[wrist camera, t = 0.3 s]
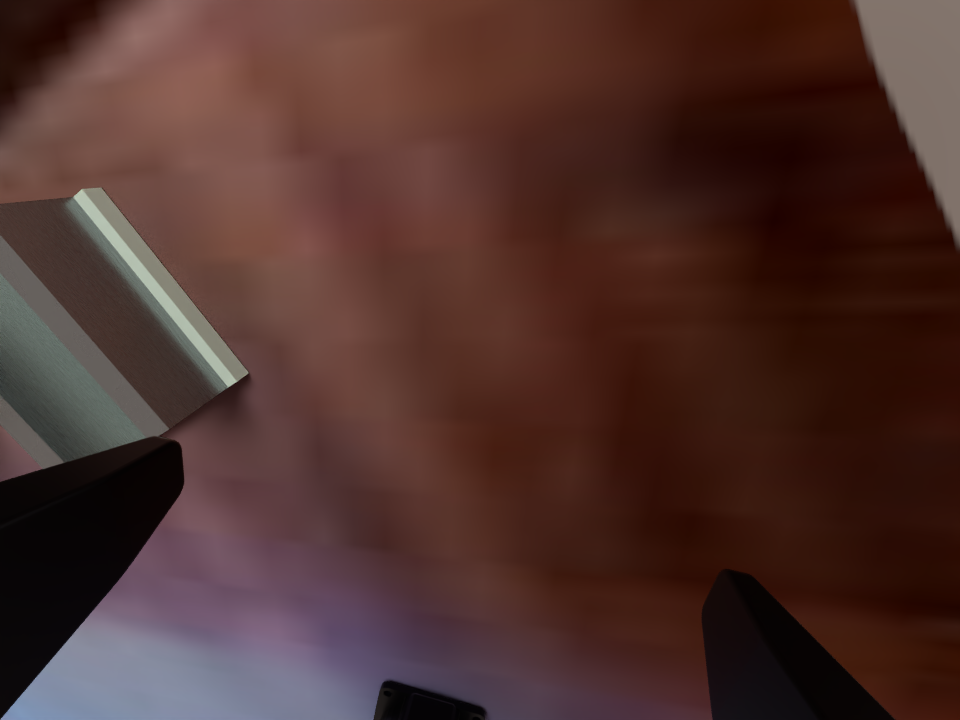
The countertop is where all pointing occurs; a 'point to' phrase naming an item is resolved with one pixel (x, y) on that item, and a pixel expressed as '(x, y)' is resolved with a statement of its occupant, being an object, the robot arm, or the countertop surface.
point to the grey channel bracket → (95, 333)
